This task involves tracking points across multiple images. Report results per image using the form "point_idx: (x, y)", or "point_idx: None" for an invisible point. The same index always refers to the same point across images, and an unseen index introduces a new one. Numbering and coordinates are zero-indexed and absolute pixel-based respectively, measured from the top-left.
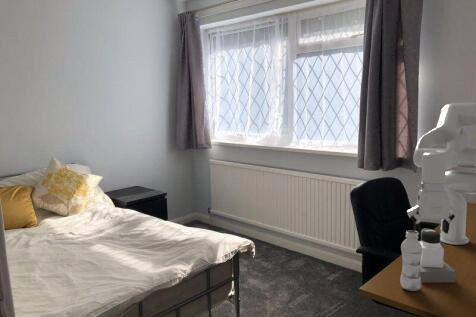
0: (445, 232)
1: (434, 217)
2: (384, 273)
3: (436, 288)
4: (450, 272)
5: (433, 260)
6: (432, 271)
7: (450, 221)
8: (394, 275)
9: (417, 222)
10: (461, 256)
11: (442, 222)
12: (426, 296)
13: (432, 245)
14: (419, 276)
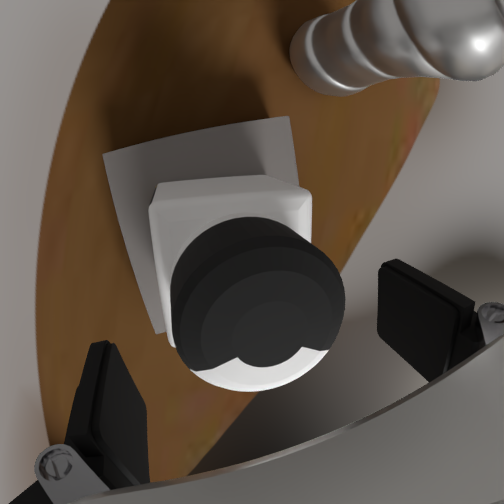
0: (116, 354)
1: (407, 432)
2: (381, 191)
3: (213, 73)
4: (129, 146)
5: (215, 182)
6: (226, 125)
7: (44, 463)
8: (352, 177)
9: (493, 313)
10: (69, 405)
11: (148, 475)
12: (272, 8)
13: (245, 213)
14: (322, 19)
